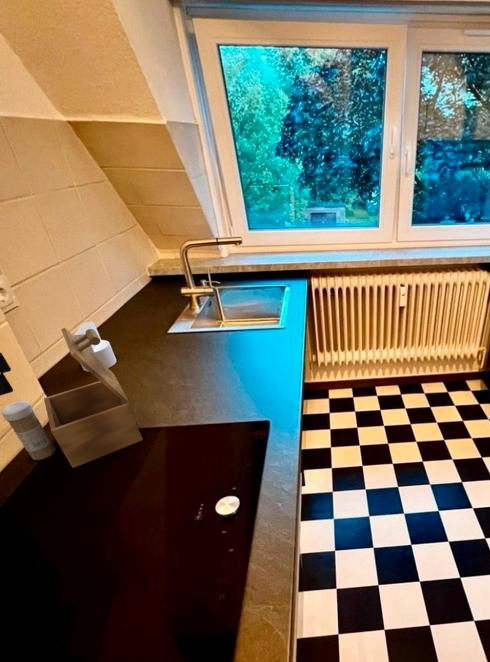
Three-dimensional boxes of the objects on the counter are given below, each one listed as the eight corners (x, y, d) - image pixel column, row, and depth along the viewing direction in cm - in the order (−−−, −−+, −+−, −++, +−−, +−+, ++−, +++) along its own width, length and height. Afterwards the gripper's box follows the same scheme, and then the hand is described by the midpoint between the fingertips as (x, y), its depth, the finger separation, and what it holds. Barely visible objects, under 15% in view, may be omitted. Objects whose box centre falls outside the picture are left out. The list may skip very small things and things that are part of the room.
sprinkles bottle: (56, 446, 87) (28, 397, 79) (59, 457, 84) (29, 407, 76) (31, 455, 84) (-1, 405, 77) (33, 466, 81) (0, 416, 74)
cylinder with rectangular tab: (87, 359, 120) (71, 324, 114) (119, 355, 122) (105, 320, 116) (78, 373, 113) (61, 337, 107) (113, 369, 115) (97, 332, 109)
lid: (71, 355, 71) (96, 339, 73) (60, 329, 81) (83, 315, 82) (125, 404, 81) (146, 389, 83) (110, 376, 91) (130, 363, 92)
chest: (74, 471, 80) (51, 431, 74) (64, 435, 90) (43, 397, 84) (144, 443, 87) (128, 404, 82) (128, 413, 97) (113, 376, 91)
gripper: (-78, 289, 68) (-23, 372, 78) (-90, 319, 57) (-24, 411, 66) (-23, 280, 72) (23, 359, 81) (-24, 306, 61) (29, 395, 70)
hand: (2, 383), depth 74 cm, fingers open, 9 cm apart
